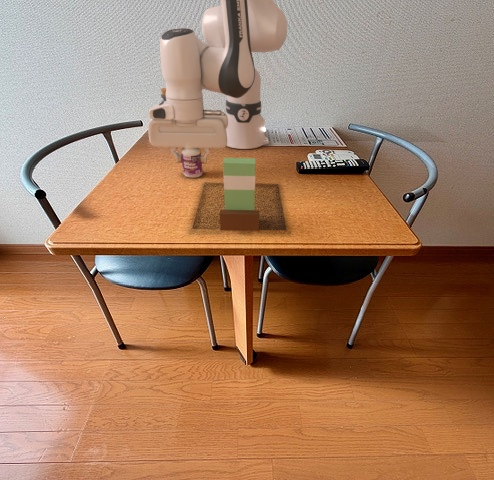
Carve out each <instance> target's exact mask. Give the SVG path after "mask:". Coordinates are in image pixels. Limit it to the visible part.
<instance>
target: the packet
mask: <svg viewBox="0 0 494 480" xmlns="http://www.w3.org/2000/svg"><path fill="white" fill-rule="evenodd" d="M256 161H257V160H256V158H255V157H253V158H251V157H223V162H222V167H223V168H222V169H223V172H222V173H223V184H224V186H223V187H224V190H223V191H224V193H223V194H224V197H225V198H224V200H225V202H224V203H225V206H224V210H255V206H254V203H256V198H255V195H256V193H255V191H256V188H255V187H256V185H255V184H256V168H257V167H256V166H257V163H256Z"/></svg>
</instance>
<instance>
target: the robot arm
mask: <svg viewBox="0 0 494 480" xmlns="http://www.w3.org/2000/svg"><path fill="white" fill-rule="evenodd" d="M200 27H201V33H202V37H203V39H204V41H205V42H204V41H202V40H201V39H200V38H199V37H198V36H197V34H196V33H195V31H194V29H192V28H185V27H183V28H182V27H180V28H173V29H169V30H166V31H164V32H163V33H162V35H161V36H160V41H159V56H160V65H161V75H162V78H163V81H164V83H165V88H166V101H165V102H162V101H161V102H158V103H156V104H154V105H152V106H151V107H150V108H149V110H148V112H147V113H148V114H147V115H148V117H149V118H150V119H149V121H148V122H147V131H148V140H149V143H150V145H151V146H152V147H154V148H169V150H170V152H171V154H172V155H173V156H174V157H175V162H176V163H177V164H182V157H181V154H180V153H179V152H178V150H177V149H178V148H183V147H186V145H187V143H190V144H191V146H192V147H193V148H199V149H203V152H204V154H201V157H200V158H201V163H202V164H207V163H208V158H207V157H208V155H209V153H210V151H211V149H226V147H228V148H232V149H237V150H238V149H239V150H251V149H257V148H260V147H262V146H265V145H269V144H270V140H269V138H268V137H267V136H266V135H265V134H266V133H265V132H266V120H265V119H264V117H263V116H262V114H261V113H262V101H261V87H262V85H261V84H262V77H261V75H260V72H259V71H258V69H256V66H255V61H254V57H253V53H264V54H265V53H270V52H274V51H279V50H280V49H281V48H283V45H284V44H285V41H286V40H287V36H288V21H287V17H286V16H285V14H284V12H283V11H282V9H280V8H279V6H278V5H277V4H276V3H275V1H274V0H220V5H216V6H212V7H209V8H207V9H206V10H205V11H204V13H203V15H202V18H201V26H200ZM203 90H205V91H210V92H213V93H217V94H223V95H225V96H226V101H225V112H226V113H225V112H223V111H222V110H219V109H216V110H213V109H205V108H204V107H205V106H204V95H203Z"/></svg>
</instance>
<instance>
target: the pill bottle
mask: <svg viewBox="0 0 494 480" xmlns="http://www.w3.org/2000/svg"><path fill="white" fill-rule="evenodd" d="M180 155H181V157H182V163H181V164H182V172H183V176H184V177H186V178H189V179H195V178H196V179H197V178H199V177H201V176H202V175H203V163H201V158H200V157H201V155H202V151H201V148H193V147H192V146H191V144H190V143H187V145H186V147H181V149H180Z"/></svg>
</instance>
